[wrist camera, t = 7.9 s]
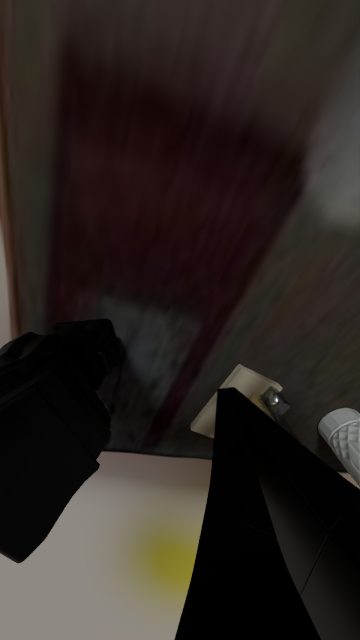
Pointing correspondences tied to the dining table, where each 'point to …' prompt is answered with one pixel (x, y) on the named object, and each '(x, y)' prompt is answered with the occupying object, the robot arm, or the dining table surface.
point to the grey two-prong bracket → (277, 407)
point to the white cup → (343, 438)
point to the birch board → (243, 382)
